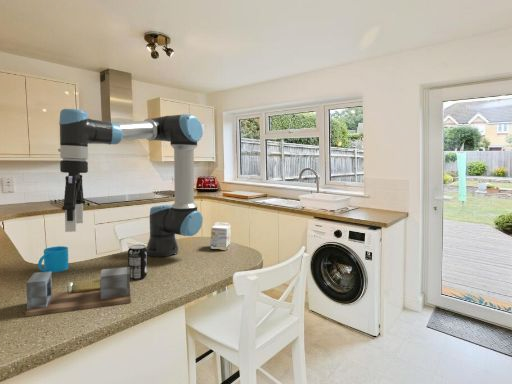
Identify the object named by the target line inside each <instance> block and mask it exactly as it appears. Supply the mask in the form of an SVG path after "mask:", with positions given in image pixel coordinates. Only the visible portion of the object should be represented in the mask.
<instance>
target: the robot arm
mask: <svg viewBox="0 0 512 384" xmlns="http://www.w3.org/2000/svg"><path fill="white" fill-rule="evenodd" d="M58 124H59V147H60V148H58V149H57V151H58V153H60V154H59V155H60V156H59V157H60V159H62V160H60V162H59V169H60V170H59V171H60V173H63V174H64V173H65V174H67V173H68V175H67V176H66V175H65V190H64V198H63V205H62V206H61V210H62V211H64V223H65V224H64V225H65V226H64V227H65V229H64V230H65V233H71V232H74V233H75V232H77V224H83V223H84V204H86V200H85V198H84V189H83V174H86V173H89V163H88V161H87V160H88V159H89V147H88V145H89V144H90V145H91V144H94V145H98V144H102V145H103V144H105V145H109V146H110V145H118V144H120V143H121V141H132V140H147V141H150V142H151V141H160V142H170V143H169V144H170V147H172V149H173V163H174V164H173V165H174V167H173V168H174V169H173V170H174V175H173V176H174V202H173V204H164V205H163V204H162V205H154V206H152V207H151V208H150V211H149V239H148V242H147V245H146V247H145V248H146V249H147V256H149V257H154V256H155V258H157V257H158V258H160V257H161V258H163V257H162V256H166V257H169V256H168V255H172V254H175V253H177V252H178V251H179V245H178V241H177V239H176V235H179V236H182V237H194V236H195V235H197V234H198V233H199V232H200V230H201V228H202V225H203V222H204V221H203V220H204V218H203V215H202V213H201V212H200V211H198V204H196V203H195V187H194V186H195V171H194V170H195V164H194V163H195V157H194V156H195V154H194V153H195V149H196V148H197V147H198V142H199V141H201V139H202V137H203V134H204V133H203V132H204V130H203V126H202V123H201V121H200V119H199V118H198V117H196V116H195V115H194V114H186V113H185V114H174V115H173V114H172V115H164V116H159V117H153V118H145V119H144V120H133V121H132V120H129V121H125V120H124V121H105V120H97V119H92V118H89V115H88V112H87V111H85V110H82V109H76V108H75V109H74V108H63V109H61V110H60V113H59V123H58ZM178 253H179V252H178ZM178 253H177V254H178ZM175 255H176V254H175ZM172 256H173V255H172Z"/></svg>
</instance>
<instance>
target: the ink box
mask: <svg viewBox="0 0 512 384" xmlns="http://www.w3.org/2000/svg"><path fill="white" fill-rule="evenodd" d="M210 230H211V231H210V247H211V246H213V247H227V246H228V245H229V244H230V245H231V234H232V233H231V232H232V225H231V224H230V223H229V222H220V221H215V222H214V225H213V226H211V227H210Z"/></svg>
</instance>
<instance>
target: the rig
mask: <svg viewBox="0 0 512 384" xmlns="http://www.w3.org/2000/svg"><path fill="white" fill-rule="evenodd" d="M52 277H53V274H52V271H50V272H44V271H40V272H39V271H38V272H33V274H32V275H31V276H30V278H29V279H28V280H27V281H26V304H27V305H26V307H27V308H26V309H27V310H26V311H25V318H27V317H33V316H34V317H35V316H39V315H40V316H41V315H48V314H57V313H63V312H64V313H65V312H71V311H79V310H86V309H94V308H102V307H108V306H116V305H125V304H131V302H132V298H131V297H132V296H131V279H130V269H129V267H128V266H126V267H115V268H104V269H103V268H102V269H101V271H100V277H99V279H100V281H101V291H93V292H84V293H76V294H68V292H67V291H63V292H55V293H54V292H53V281H52V280H53V279H52Z"/></svg>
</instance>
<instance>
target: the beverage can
mask: <svg viewBox="0 0 512 384" xmlns="http://www.w3.org/2000/svg"><path fill="white" fill-rule="evenodd" d="M146 247H147V245H145V244H131V245H129V249H128V250H127V267H129V269H130V281H131V280H132V281H140V280H143V279H145V278H146V276H147V273H148V271H147V270H148V268H147V267H148V265H147V262H148V261H147V258H148V255H147V249H146Z"/></svg>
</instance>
